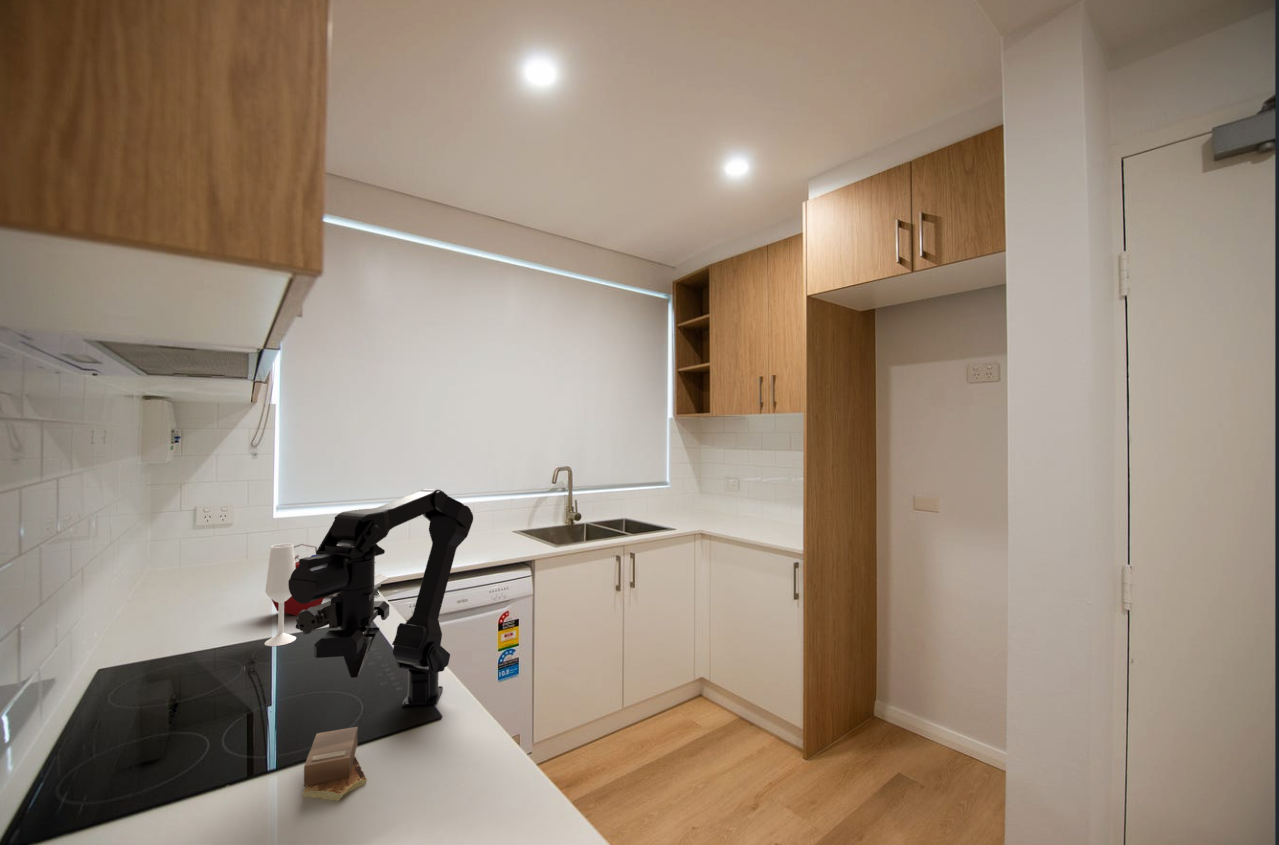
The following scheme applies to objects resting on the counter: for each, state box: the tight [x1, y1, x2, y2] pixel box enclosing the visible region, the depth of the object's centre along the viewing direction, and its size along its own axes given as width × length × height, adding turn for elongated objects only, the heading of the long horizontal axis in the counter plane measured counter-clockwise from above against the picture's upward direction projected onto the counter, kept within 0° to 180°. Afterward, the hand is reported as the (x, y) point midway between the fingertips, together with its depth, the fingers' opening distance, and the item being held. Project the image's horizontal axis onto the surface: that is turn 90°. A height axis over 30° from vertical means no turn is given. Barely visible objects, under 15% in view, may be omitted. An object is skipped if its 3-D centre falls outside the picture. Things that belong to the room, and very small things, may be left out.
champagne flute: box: [264, 543, 297, 647], centre depth 136 cm, size 7×7×24 cm
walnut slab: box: [303, 726, 359, 787], centre depth 85 cm, size 3×6×9 cm
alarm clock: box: [270, 543, 325, 617], centre depth 155 cm, size 15×9×20 cm, turn 113°
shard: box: [302, 756, 367, 801], centre depth 84 cm, size 11×8×2 cm
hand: (354, 676), depth 92 cm, fingers closed
